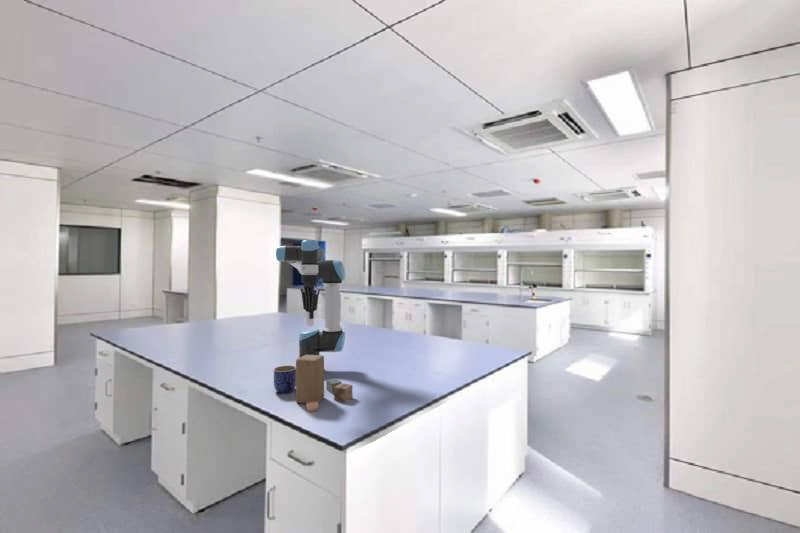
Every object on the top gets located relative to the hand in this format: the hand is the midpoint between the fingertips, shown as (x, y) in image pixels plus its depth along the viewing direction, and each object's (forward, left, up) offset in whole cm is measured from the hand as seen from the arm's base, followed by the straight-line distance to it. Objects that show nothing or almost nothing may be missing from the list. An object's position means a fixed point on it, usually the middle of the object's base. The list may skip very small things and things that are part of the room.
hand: (310, 325), depth 170 cm
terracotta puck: (+10, -5, -35) cm, 36 cm away
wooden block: (0, 0, -35) cm, 35 cm away
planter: (-20, -2, -35) cm, 40 cm away
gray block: (-3, +15, -35) cm, 38 cm away
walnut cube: (+9, +12, -35) cm, 38 cm away
